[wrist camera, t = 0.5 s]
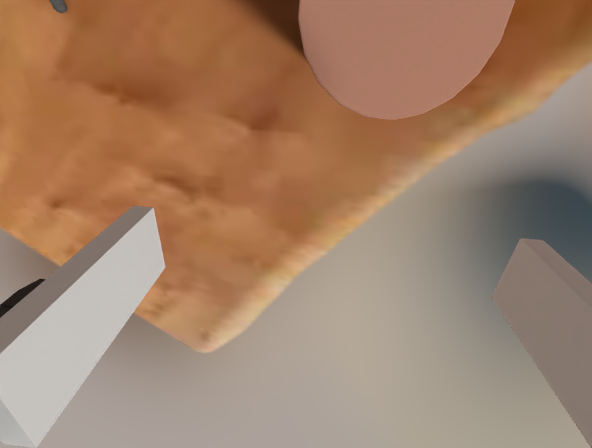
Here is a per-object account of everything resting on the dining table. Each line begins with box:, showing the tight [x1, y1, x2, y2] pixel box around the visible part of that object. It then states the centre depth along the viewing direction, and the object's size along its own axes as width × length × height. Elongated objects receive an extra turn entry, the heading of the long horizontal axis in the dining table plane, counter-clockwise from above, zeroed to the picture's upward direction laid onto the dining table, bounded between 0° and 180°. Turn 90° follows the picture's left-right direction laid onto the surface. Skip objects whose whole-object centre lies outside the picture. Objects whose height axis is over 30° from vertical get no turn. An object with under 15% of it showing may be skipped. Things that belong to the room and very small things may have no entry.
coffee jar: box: [298, 0, 515, 120], centre depth 23 cm, size 11×11×18 cm
